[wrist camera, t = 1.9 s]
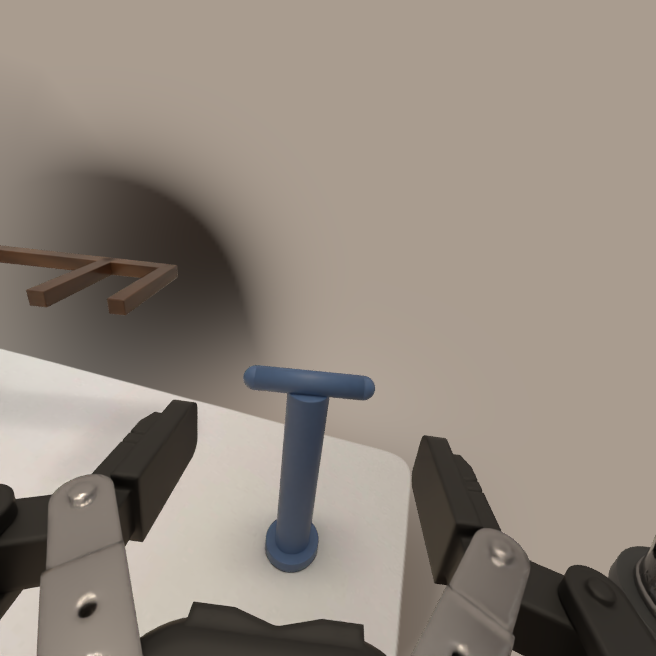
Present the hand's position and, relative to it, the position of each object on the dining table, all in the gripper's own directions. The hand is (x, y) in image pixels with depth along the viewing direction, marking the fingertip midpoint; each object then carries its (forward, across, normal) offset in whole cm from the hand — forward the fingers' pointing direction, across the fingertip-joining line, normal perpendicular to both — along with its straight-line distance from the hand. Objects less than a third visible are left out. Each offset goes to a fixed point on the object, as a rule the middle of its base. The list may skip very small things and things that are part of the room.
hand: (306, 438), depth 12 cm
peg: (+11, 0, +20) cm, 23 cm away
